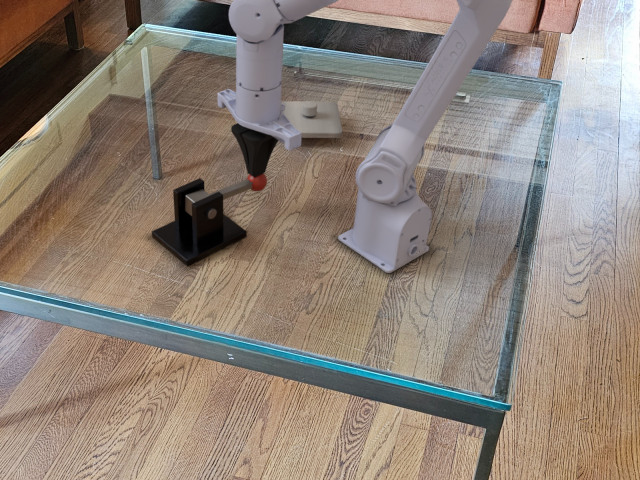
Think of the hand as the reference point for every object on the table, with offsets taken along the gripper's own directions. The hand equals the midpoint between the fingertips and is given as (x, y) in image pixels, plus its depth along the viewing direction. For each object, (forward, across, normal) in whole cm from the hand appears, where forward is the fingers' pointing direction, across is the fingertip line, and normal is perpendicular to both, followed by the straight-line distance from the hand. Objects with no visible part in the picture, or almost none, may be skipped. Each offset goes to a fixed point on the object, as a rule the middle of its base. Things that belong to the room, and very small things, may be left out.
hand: (256, 172), depth 113 cm
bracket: (+6, 0, +10) cm, 12 cm away
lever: (+2, 0, +5) cm, 6 cm away
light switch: (+6, +11, -20) cm, 24 cm away
